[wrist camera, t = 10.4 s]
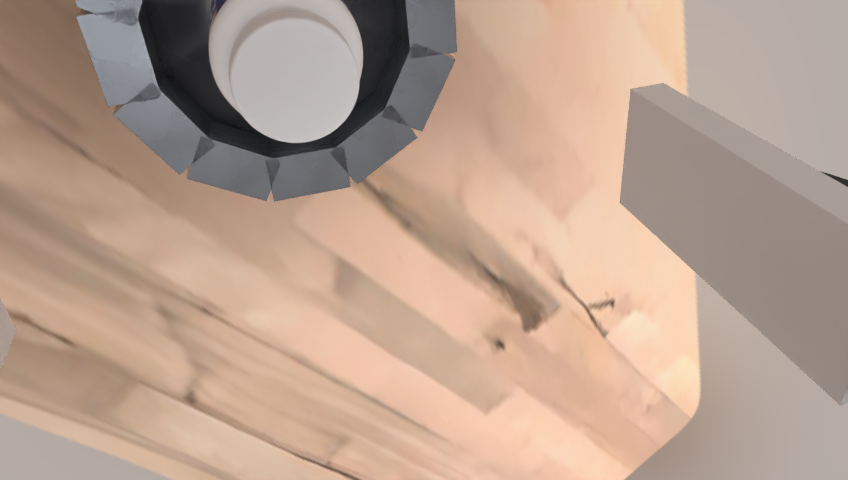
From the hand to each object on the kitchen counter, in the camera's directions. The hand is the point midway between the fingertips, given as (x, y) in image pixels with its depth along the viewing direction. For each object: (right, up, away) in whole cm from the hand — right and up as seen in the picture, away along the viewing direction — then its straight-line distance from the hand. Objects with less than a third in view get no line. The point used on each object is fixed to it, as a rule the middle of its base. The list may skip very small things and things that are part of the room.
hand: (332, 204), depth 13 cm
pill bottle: (-4, +9, +15) cm, 18 cm away
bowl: (-5, +9, +15) cm, 18 cm away
